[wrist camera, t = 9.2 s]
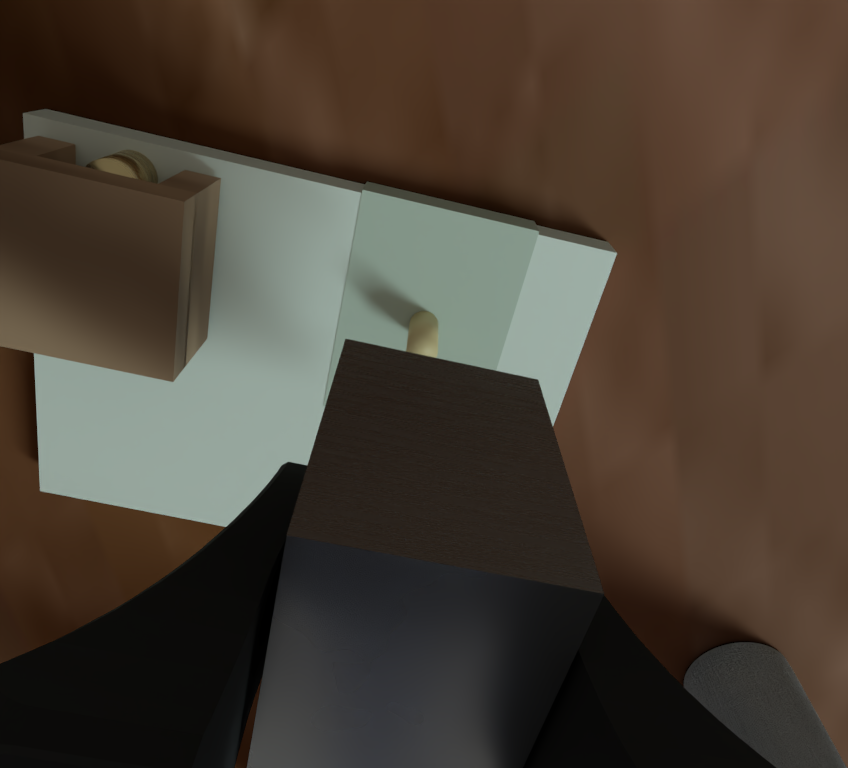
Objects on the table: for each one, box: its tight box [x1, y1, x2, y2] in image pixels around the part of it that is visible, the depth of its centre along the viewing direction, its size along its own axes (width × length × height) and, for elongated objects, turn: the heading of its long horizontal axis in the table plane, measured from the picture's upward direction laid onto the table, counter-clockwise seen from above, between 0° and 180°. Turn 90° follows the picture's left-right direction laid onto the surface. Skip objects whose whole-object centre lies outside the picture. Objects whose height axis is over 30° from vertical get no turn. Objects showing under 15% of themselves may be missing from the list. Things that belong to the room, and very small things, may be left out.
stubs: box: [86, 150, 158, 184], centre depth 19 cm, size 4×1×2 cm, turn 167°
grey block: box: [247, 339, 604, 768], centre depth 12 cm, size 6×4×6 cm, turn 167°
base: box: [23, 109, 617, 527], centre depth 22 cm, size 13×17×3 cm
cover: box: [0, 136, 221, 382], centre depth 18 cm, size 5×5×3 cm
